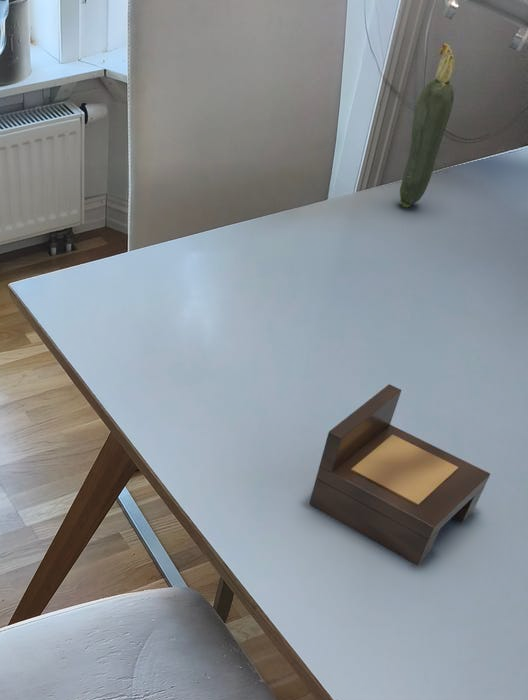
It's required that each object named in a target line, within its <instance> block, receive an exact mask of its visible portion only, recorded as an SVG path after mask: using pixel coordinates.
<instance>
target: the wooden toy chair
mask: <svg viewBox="0 0 528 700" xmlns="http://www.w3.org/2000/svg"><path fill="white" fill-rule="evenodd" d="M401 393H402V389H401V388H398V387H397V386H394V385H392V384H390V383H389V384H387V385H386V386H384V388H382V389H381V390H380V391H378V392H377V393H376V394H374V395H373V396H372V397H371V398H369V399H368V400H367V401H366V402H365V403H363V404H362V405H361V406H359V407H358V408H356V410H354V411H353V412H351V413H350V414H349V415H348V416H347V417H345V418H344V419H343V420H342V421H340V422H339V423H338V424H336V425H335V426H334V427H333V428H331V429H330V430H329V431H328V432H327V437H326V440H325V443H324V446H323V447H324V448H323V451H322V455H321V459H320V462H319V466H318V469H317V473H316V476H315V481H314V485H313V489H312V492H311V494H310V495H311V496H310V499H309V503H308V505H310V506H311V507H312V508H315V509H316V510H318V511H320V512H322V513H323V514H325V515H327V516H328V517H331V518H332V519H334V520H336V521H338V522H339V523H341V524H343V525H344V526H347V527H349V528H350V529H352V530H354V531H355V532H358V533H359V534H360V535H363V536H364V537H366V538H368V539H370V540H371V541H373V542H375V543H377V544H378V545H380V546H382V547H384V548H385V549H387V550H389V551H391V552H393V553H394V554H396V555H398V556H400V557H401V558H403V559H405V560H407V561H409V562H410V563H412V564H413V565H416V566H419V565H420V564H421V563H422V562H424V560H425V559H426V558H428V556H430V553H431V551H432V549H433V546H434V545H435V542H436V539H437V537H438V535H439V533H440V531H441V529H442V528H443V527H444V526H445V525H446V524H447V523H448V522H449V521H450V520H451V519H452V518H454V519H455V520H457V521H459V522H461V523H463V522H465V520H467V518H469V517H470V516H471V515H472V514H473V512H474V511H475V508H476V506H477V504H478V502H479V500H480V498H481V496H482V494H483V491H484V489H485V487H486V485H487V482H488V480H489V478H490V476H491V473H490V472H488V471H486V470H484V469H482V468H480V467H479V466H477V465H474V464H472V463H470V462H469V461H466V460H464V459H462V458H459V457H458V456H456V455H453V454H451V453H450V452H447V451H445V450H444V449H442V448H439V447H437V446H435V445H433V444H431V443H429V442H427V441H425V440H423V439H421V438H419V437H417V436H415V435H412V434H411V433H408V432H406V431H405V430H402V429H400V428H399V427H396V426H394V425H392V424H391V423H392V420H393V417H394V414H395V411H396V409H397V405H398V402H399V399H400V396H401Z"/></svg>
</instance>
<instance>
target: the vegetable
mask: <svg viewBox="0 0 528 700" xmlns="http://www.w3.org/2000/svg"><path fill="white" fill-rule="evenodd" d="M437 57H441V58H440V60H439V63H438V66H437V70H436V72H435V79H433V80H432V81H430V82H429V83H428V84H426V85H425V87H424V88H423V89H422V90H421V92H420V94H419V97H418V99H417V102H416V106H415V109H414V114H413V120H412V126H411V141H410V142H411V143H410V147H409V153H408V157H407V161H406V164H405V168H404V171H403V176H402V180H401V183H400V188H399V197H400V200H399V205H401V206H402V207H403V208H408V207H411V206H412V205H414V204H415V203H416V202H419V201H420V200H421V199H422V197H423V196H424V194H425V192H426V190H427V188H428V185H429V183H430V181H431V178H432V175H433V171H434V166H435V163H436V159H437V155H438V153H439V150H440V146H441V142H442V140H443V137H444V134H445V132H446V128H447V125H448V122H449V119H450V116H451V112H452V109H453V106H454V101H455V99H454V97H455V96H454V95H455V93H454V88H453V86H452V84H451V83H450V80H451V77H452V76H453V74H454V72H455V67H456V62H455V61H456V60H455V58H454V57H455V56H454V55H453V50H452V47H451V45H449V44H448V43H443V44H442V45H441V48H440V49H439V53H438V54H437Z"/></svg>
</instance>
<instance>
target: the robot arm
mask: <svg viewBox="0 0 528 700" xmlns="http://www.w3.org/2000/svg"><path fill="white" fill-rule="evenodd" d="M462 2H465V3H467V4H469V5H472V6H474V7H476V8H478V9H480V10H482V11H484V12H486V13H489V14H491V15H493V16H495V17H497V18H500V19H502V20H504V21H506V22H508V23H510V24H512V25H514V26H516V27H519V29H518V30H517V31H516V34H515V35H514V37H513V39H512V40H511V42H510V44H509V46H508V47H509V48H512V49H513V50H515V51H517V52H520V51H521V50H522V48H523V47H524V44H527V43H528V0H444V4H445V5H444V6H445V7H444V10H443V11H442V13H441V16H443V17H445V18H447V19H449V20H451V21H453V19H454V18H455V16H456V14H457V12H458V11H459V8H460V6H461V4H462Z"/></svg>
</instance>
